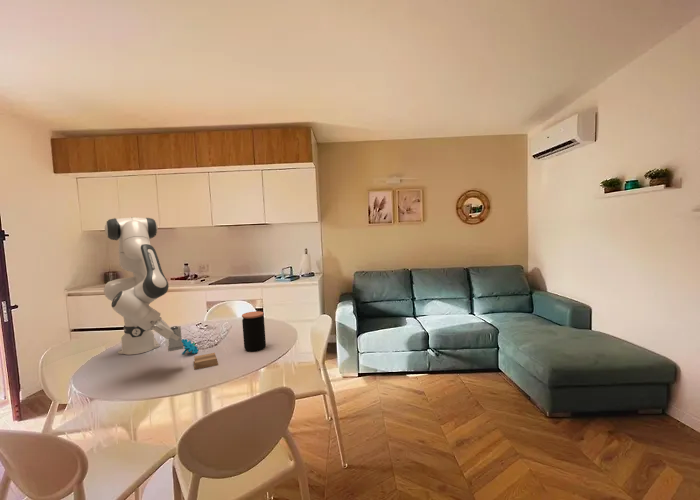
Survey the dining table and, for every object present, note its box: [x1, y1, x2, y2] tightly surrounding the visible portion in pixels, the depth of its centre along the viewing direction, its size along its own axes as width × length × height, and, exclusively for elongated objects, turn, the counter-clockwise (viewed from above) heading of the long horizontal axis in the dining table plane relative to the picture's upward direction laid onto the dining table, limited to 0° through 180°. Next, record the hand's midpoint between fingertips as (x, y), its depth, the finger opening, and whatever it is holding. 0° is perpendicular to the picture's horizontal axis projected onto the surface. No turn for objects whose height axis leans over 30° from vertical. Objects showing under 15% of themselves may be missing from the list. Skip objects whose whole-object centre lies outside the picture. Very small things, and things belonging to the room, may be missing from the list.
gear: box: [181, 338, 199, 355], centre depth 179 cm, size 11×6×10 cm
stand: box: [193, 352, 219, 371], centre depth 163 cm, size 10×10×3 cm
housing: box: [167, 325, 185, 352], centre depth 158 cm, size 6×6×10 cm
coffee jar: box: [241, 310, 267, 353], centre depth 180 cm, size 11×11×18 cm
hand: (176, 337), depth 158 cm, fingers closed on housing, 5 cm apart
